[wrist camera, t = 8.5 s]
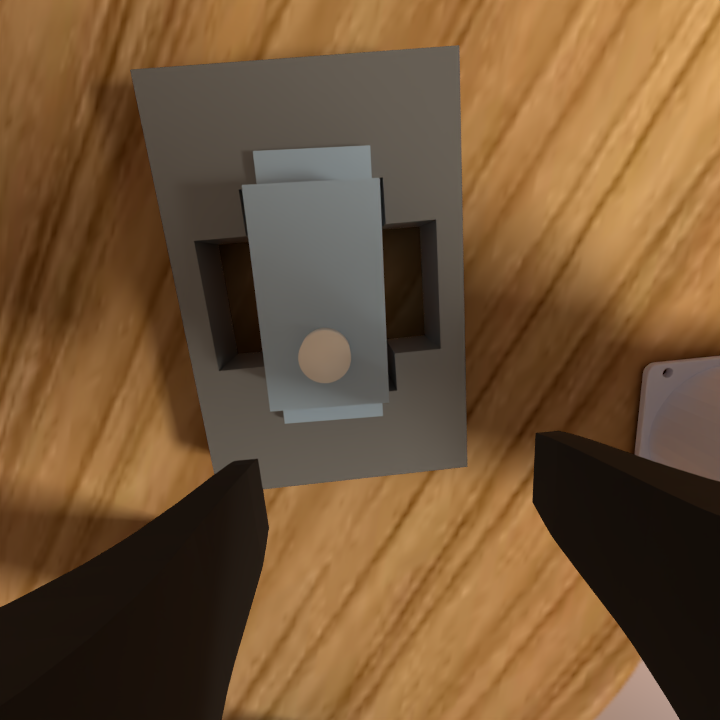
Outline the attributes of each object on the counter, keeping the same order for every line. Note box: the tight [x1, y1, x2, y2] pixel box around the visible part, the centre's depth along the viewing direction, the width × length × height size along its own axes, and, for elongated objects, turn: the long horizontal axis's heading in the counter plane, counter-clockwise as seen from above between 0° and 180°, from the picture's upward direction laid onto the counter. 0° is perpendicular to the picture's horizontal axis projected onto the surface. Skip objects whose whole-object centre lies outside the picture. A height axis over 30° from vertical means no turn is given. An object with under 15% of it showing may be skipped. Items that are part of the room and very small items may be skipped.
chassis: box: [130, 45, 467, 489], centre depth 16 cm, size 11×16×3 cm
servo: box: [242, 145, 389, 424], centre depth 14 cm, size 4×10×7 cm, turn 3°
